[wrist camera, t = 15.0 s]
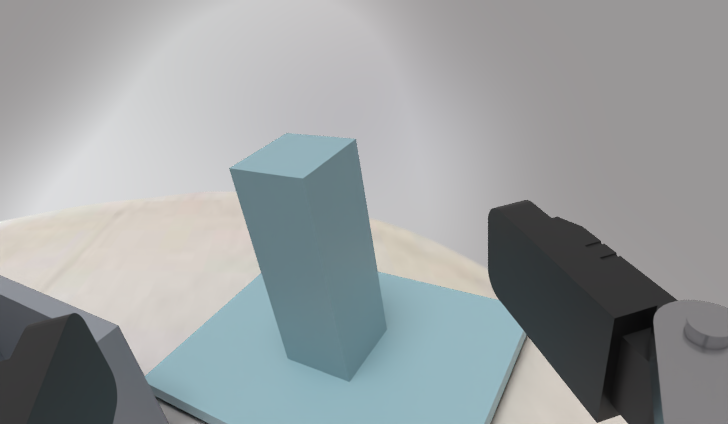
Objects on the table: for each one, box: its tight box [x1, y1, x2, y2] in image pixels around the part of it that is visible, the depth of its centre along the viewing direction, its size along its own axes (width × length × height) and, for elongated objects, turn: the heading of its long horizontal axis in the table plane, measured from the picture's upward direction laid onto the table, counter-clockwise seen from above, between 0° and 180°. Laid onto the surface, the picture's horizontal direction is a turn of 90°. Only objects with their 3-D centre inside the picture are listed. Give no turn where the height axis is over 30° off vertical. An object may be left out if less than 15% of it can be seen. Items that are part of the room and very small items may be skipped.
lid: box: [145, 133, 527, 424], centre depth 22 cm, size 15×11×11 cm
